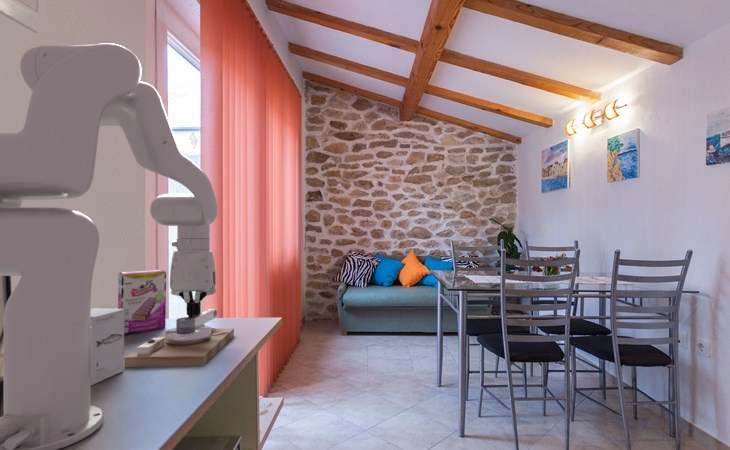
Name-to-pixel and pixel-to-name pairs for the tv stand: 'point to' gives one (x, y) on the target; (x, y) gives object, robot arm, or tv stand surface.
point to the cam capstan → (191, 329)
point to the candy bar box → (142, 300)
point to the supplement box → (106, 343)
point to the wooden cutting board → (178, 351)
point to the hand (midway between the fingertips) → (193, 317)
